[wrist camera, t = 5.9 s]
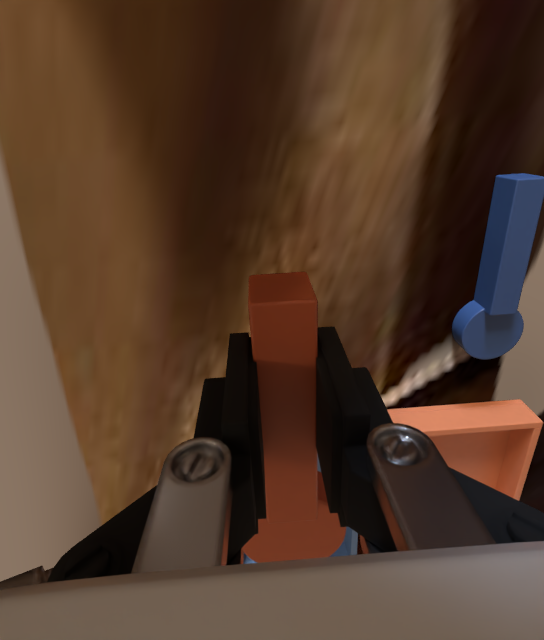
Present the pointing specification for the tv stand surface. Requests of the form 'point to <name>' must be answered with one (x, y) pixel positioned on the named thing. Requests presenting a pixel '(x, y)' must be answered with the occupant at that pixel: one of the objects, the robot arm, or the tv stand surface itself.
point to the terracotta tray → (481, 439)
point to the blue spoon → (501, 268)
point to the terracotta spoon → (289, 421)
